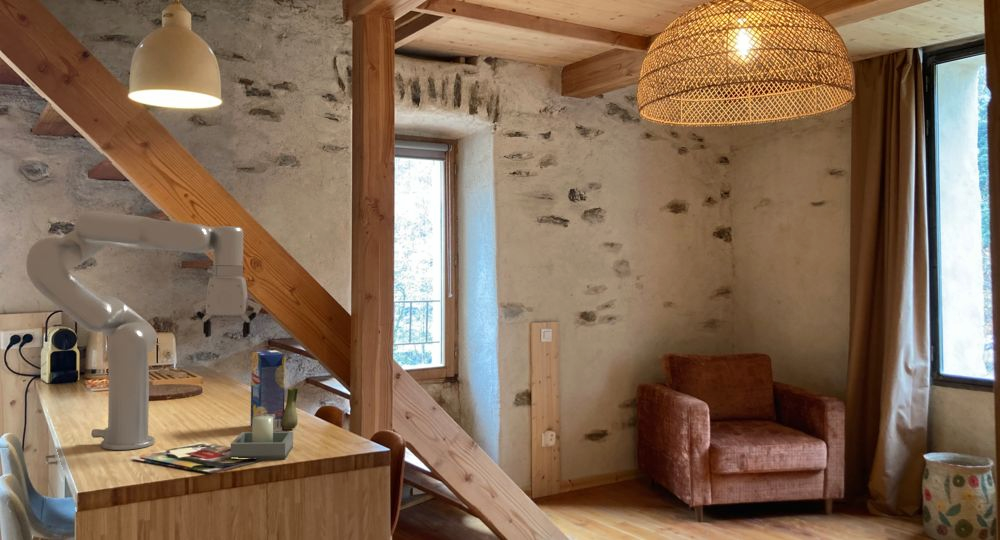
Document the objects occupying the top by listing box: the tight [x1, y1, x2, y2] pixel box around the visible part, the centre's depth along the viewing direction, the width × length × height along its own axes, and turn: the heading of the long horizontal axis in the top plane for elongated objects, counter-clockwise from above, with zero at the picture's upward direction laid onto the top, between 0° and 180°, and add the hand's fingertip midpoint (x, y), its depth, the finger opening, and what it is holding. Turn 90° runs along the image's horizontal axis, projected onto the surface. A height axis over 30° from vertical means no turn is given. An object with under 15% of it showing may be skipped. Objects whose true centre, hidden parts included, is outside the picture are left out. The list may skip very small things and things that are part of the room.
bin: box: [230, 431, 294, 461], centre depth 198 cm, size 13×13×4 cm
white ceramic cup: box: [251, 416, 273, 443], centre depth 198 cm, size 5×5×8 cm
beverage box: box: [250, 349, 286, 432], centre depth 227 cm, size 7×11×22 cm, turn 31°
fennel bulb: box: [281, 387, 299, 430], centre depth 226 cm, size 6×5×12 cm
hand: (226, 336), depth 208 cm, fingers open, 9 cm apart
